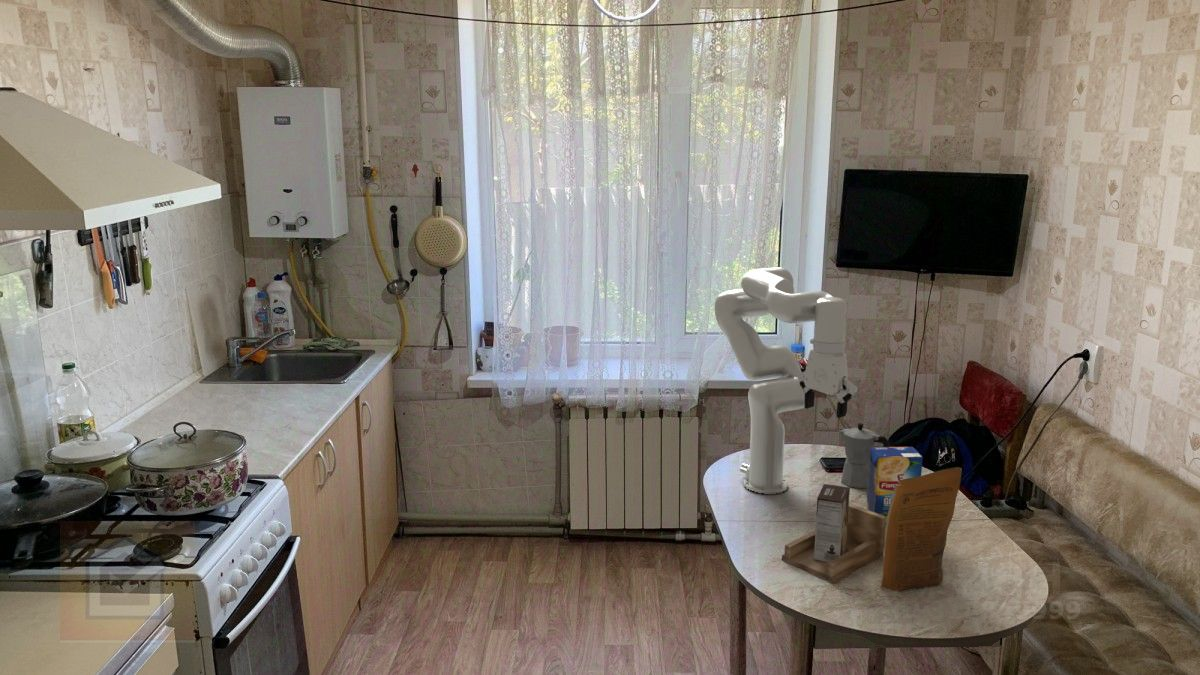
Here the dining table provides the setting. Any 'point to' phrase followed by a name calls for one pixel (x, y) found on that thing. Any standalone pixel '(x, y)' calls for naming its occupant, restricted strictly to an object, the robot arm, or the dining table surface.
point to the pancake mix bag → (919, 530)
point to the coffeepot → (858, 455)
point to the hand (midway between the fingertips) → (824, 411)
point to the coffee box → (831, 522)
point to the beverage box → (889, 474)
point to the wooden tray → (859, 551)
